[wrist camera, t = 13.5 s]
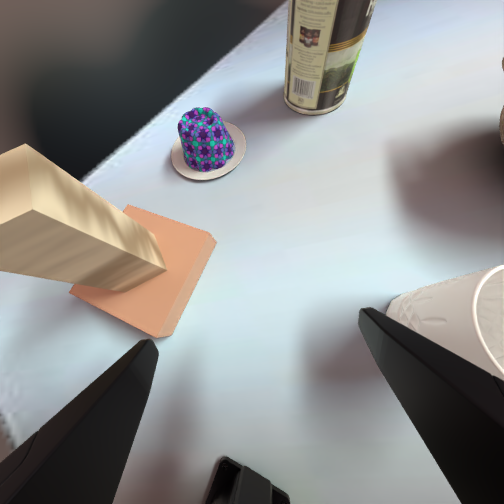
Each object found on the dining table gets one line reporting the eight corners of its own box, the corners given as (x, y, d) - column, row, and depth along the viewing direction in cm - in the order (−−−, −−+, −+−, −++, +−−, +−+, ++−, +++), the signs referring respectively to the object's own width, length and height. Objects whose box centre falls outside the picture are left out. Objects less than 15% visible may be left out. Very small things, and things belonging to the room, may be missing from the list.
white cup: (392, 372, 18) (519, 430, 9) (369, 290, 21) (448, 268, 12) (480, 366, 18) (713, 422, 8) (445, 283, 20) (593, 253, 11)
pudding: (259, 135, 30) (257, 100, 26) (222, 194, 28) (212, 167, 23) (198, 117, 33) (186, 82, 28) (159, 168, 30) (137, 139, 25)
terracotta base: (171, 335, 22) (156, 337, 19) (92, 295, 24) (68, 292, 21) (216, 242, 25) (209, 232, 22) (142, 216, 27) (127, 204, 24)
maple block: (167, 270, 21) (32, 209, 9) (125, 292, 21) (-72, 258, 9) (154, 234, 23) (25, 143, 11) (114, 254, 22) (-62, 182, 10)
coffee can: (346, 73, 33) (396, -94, 20) (346, 116, 30) (406, -48, 16) (285, 74, 34) (294, -80, 21) (279, 115, 31) (285, -36, 18)
